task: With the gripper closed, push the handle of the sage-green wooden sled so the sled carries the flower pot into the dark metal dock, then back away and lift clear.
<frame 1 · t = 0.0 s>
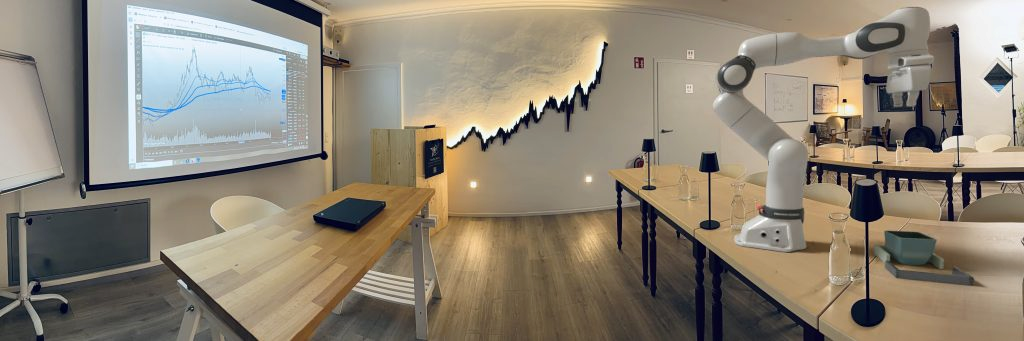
hand: (904, 106, 124), 48 cm above the table, tool pointing down, fingers open, 8 cm apart
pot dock: (922, 274, 113), on the table
flower pot: (907, 263, 122), on the table
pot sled: (905, 250, 123), point 3 cm above the table, slide at 10.0 cm
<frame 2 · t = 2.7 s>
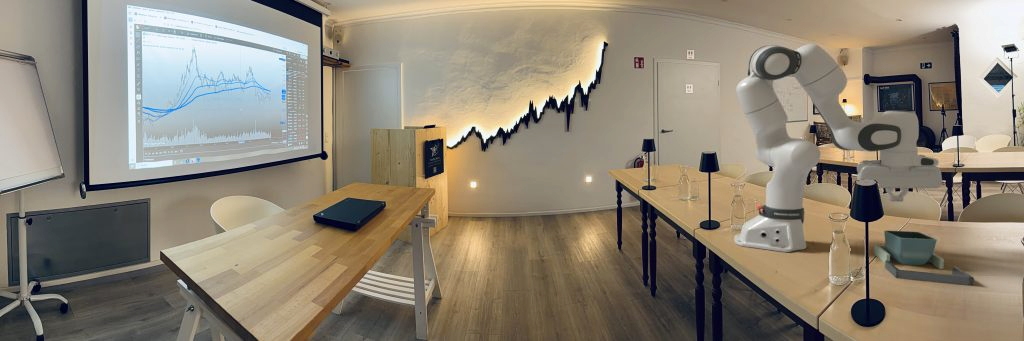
hand: (896, 201, 130), 17 cm above the table, tool pointing down, fingers closed
nothing on the table moved.
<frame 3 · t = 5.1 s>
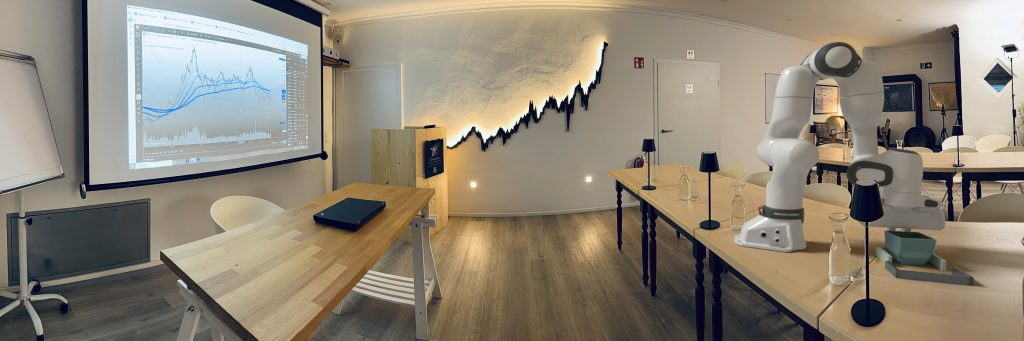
hand: (898, 241, 128), 5 cm above the table, tool pointing down, fingers closed
flower pot: (907, 263, 121), on the table, touching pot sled
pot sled: (907, 251, 121), point 3 cm above the table, slide at 8.5 cm, touching flower pot, gripper
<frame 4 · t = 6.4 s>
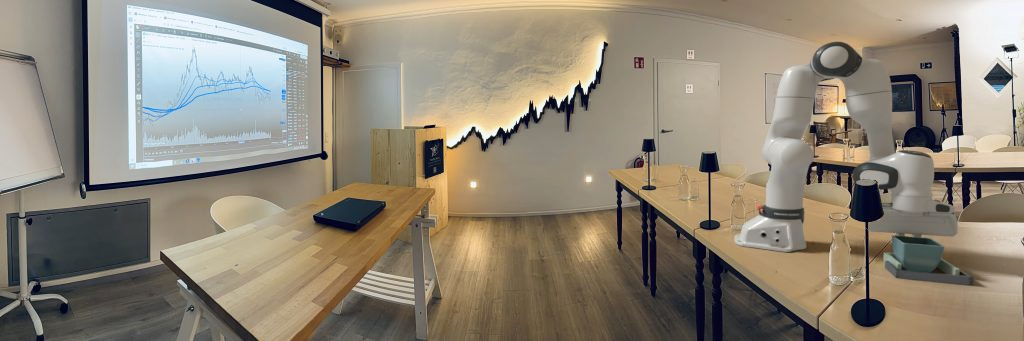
hand: (907, 247, 122), 5 cm above the table, tool pointing down, fingers closed, pressing on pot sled
flower pot: (914, 270, 116), on the table, touching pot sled
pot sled: (917, 259, 115), point 3 cm above the table, slide at 1.7 cm, touching flower pot, gripper
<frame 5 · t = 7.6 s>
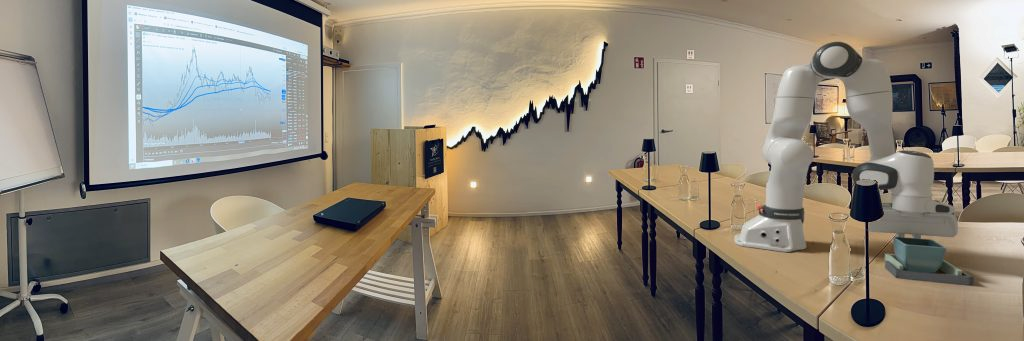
hand: (907, 247, 121), 5 cm above the table, tool pointing down, fingers closed
flower pot: (916, 272, 115), on the table
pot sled: (919, 260, 114), point 3 cm above the table, slide at 0.5 cm
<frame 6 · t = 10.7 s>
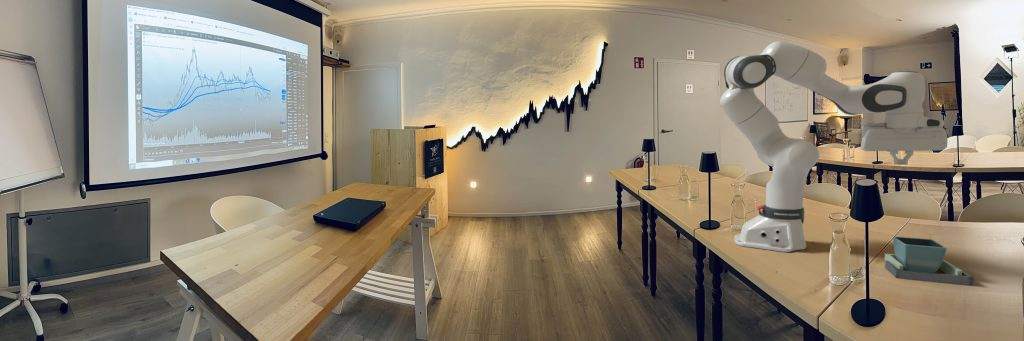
hand: (900, 164, 129), 29 cm above the table, tool pointing down, fingers closed
nothing on the table moved.
at the end: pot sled slide at 0.5 cm; flower pot 1.9 cm off-centre on the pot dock, point 0.0 cm above the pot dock's base; flower pot tilted 0° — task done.
